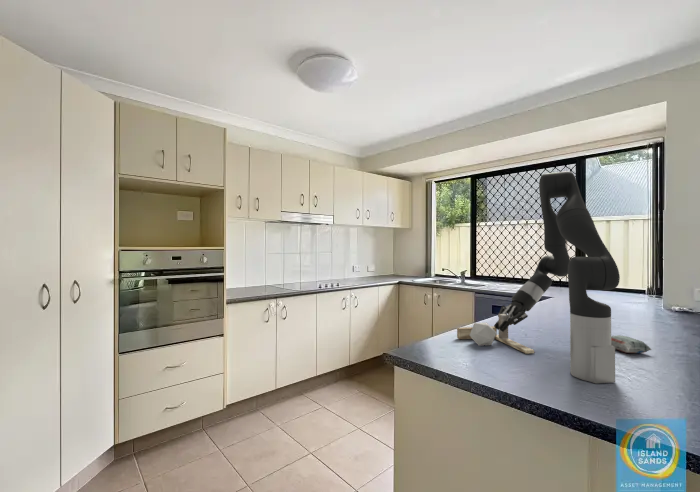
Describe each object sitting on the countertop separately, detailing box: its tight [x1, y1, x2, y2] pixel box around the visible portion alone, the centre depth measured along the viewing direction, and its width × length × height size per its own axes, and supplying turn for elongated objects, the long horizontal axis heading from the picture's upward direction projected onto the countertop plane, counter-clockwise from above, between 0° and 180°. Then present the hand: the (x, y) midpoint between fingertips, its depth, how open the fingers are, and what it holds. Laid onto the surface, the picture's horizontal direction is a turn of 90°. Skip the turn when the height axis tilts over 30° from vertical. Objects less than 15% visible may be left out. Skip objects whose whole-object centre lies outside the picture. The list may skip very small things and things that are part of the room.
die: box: [469, 322, 498, 347], centre depth 122 cm, size 8×9×10 cm
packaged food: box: [611, 335, 652, 354], centre depth 114 cm, size 9×12×5 cm
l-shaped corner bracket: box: [456, 313, 535, 355], centre depth 120 cm, size 22×17×10 cm
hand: (498, 328), depth 125 cm, fingers closed on l-shaped corner bracket, 2 cm apart
